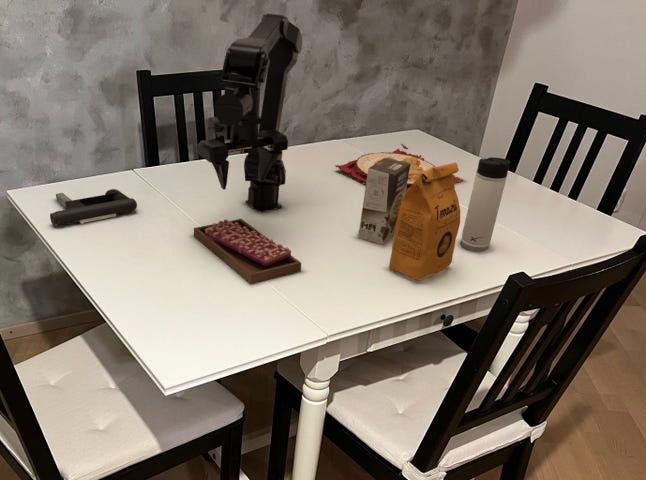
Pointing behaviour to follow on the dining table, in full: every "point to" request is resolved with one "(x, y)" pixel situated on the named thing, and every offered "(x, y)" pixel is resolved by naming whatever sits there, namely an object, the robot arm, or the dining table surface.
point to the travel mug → (484, 203)
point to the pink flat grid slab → (247, 242)
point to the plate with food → (366, 161)
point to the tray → (247, 258)
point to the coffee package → (427, 224)
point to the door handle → (92, 207)
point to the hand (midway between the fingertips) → (242, 185)
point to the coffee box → (383, 199)
